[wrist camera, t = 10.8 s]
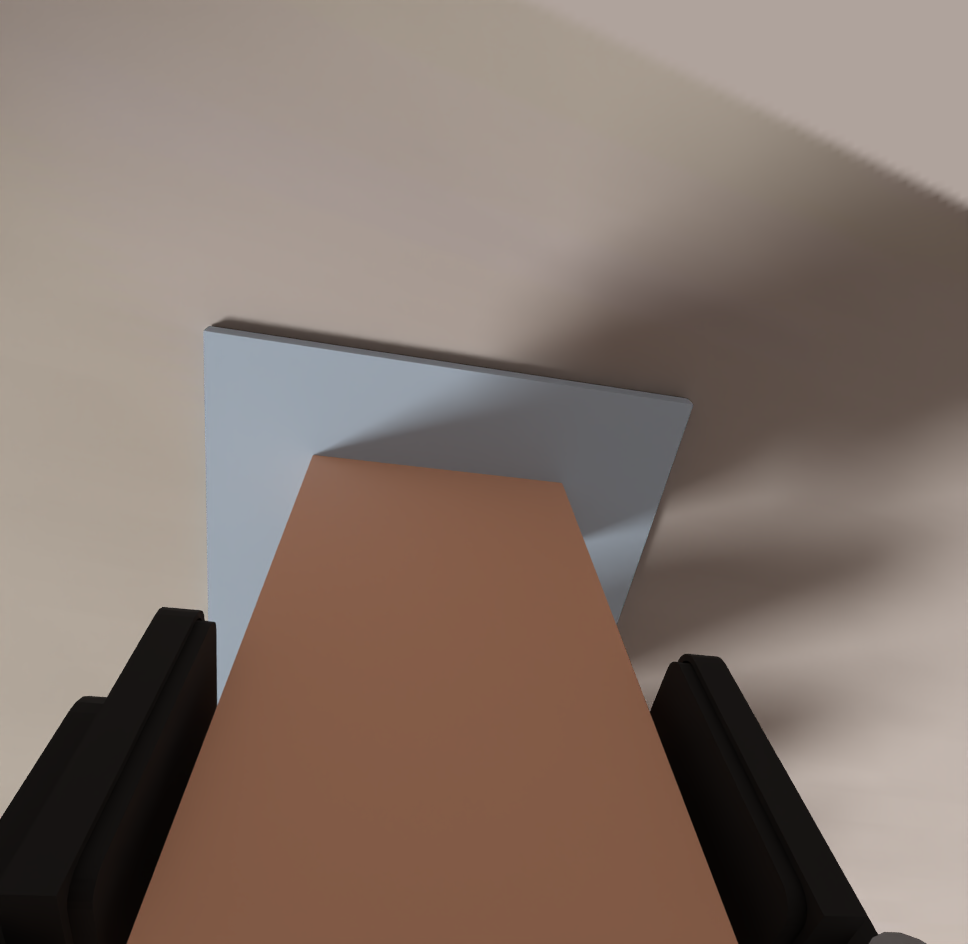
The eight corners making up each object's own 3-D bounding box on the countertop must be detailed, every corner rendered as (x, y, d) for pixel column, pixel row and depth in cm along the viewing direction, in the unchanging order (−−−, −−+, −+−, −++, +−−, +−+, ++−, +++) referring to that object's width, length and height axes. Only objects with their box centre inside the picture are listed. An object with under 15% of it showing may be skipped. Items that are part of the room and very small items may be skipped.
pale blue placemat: (217, 957, 25) (214, 969, 24) (209, 326, 14) (203, 330, 13) (494, 961, 26) (495, 972, 26) (687, 398, 15) (693, 404, 15)
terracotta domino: (313, 454, 15) (13, 1244, 4) (562, 482, 16) (836, 1200, 5) (309, 527, 16) (54, 1329, 5) (545, 550, 17) (749, 1283, 6)
